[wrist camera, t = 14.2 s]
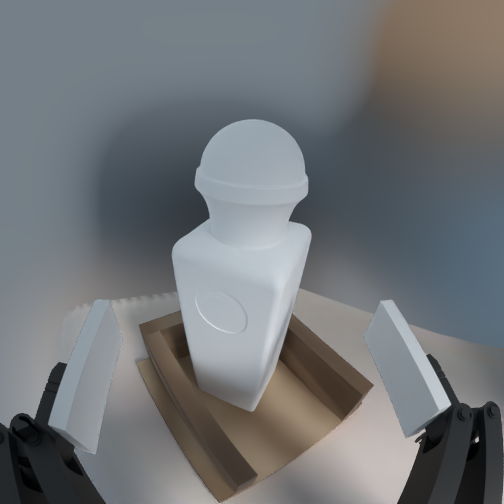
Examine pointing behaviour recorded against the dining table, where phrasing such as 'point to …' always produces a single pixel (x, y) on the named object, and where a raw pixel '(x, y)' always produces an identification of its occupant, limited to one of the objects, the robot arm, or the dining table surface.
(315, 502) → the dining table surface
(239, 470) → the walnut holder
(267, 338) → the white plastic bottle
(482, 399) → the dining table surface
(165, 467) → the dining table surface
